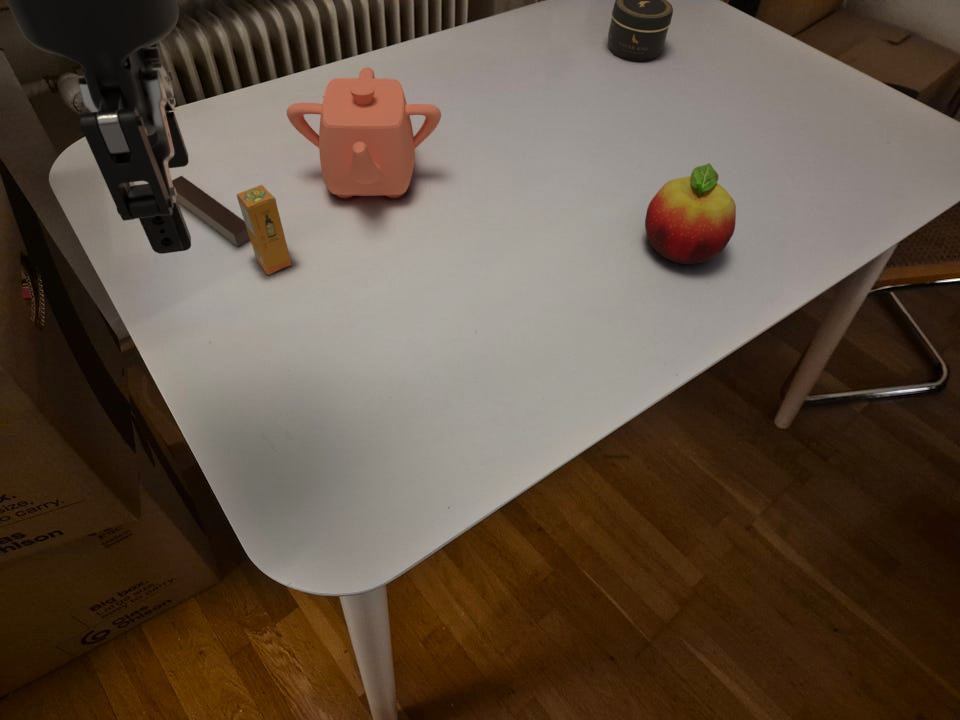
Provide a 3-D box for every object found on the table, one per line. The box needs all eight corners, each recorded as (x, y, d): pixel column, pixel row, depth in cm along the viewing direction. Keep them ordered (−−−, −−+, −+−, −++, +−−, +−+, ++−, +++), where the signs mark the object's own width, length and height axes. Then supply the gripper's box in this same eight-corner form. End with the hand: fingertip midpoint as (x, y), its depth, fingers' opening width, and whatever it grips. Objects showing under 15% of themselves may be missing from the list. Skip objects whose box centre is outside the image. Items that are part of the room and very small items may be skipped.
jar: (602, 58, 115) (611, 12, 109) (608, 31, 121) (617, -14, 115) (660, 67, 114) (673, 22, 108) (663, 40, 120) (675, -4, 114)
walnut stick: (238, 247, 81) (234, 234, 80) (170, 196, 86) (165, 183, 85) (254, 237, 82) (250, 225, 81) (186, 187, 87) (181, 175, 86)
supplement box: (280, 249, 81) (263, 181, 73) (292, 266, 80) (277, 199, 72) (254, 259, 80) (235, 192, 72) (266, 276, 78) (248, 209, 70)
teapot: (369, 130, 98) (361, 41, 87) (452, 175, 92) (454, 86, 82) (281, 183, 89) (261, 92, 79) (367, 236, 84) (357, 145, 73)
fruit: (627, 260, 84) (647, 195, 76) (649, 210, 90) (670, 146, 82) (711, 288, 81) (741, 225, 73) (728, 235, 88) (757, 172, 80)
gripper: (-3, -129, 34) (116, 147, 47) (-58, -2, 26) (105, 291, 38) (154, -133, 35) (228, 135, 48) (150, -15, 27) (240, 271, 40)
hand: (173, 204), depth 43 cm, fingers open, 8 cm apart
